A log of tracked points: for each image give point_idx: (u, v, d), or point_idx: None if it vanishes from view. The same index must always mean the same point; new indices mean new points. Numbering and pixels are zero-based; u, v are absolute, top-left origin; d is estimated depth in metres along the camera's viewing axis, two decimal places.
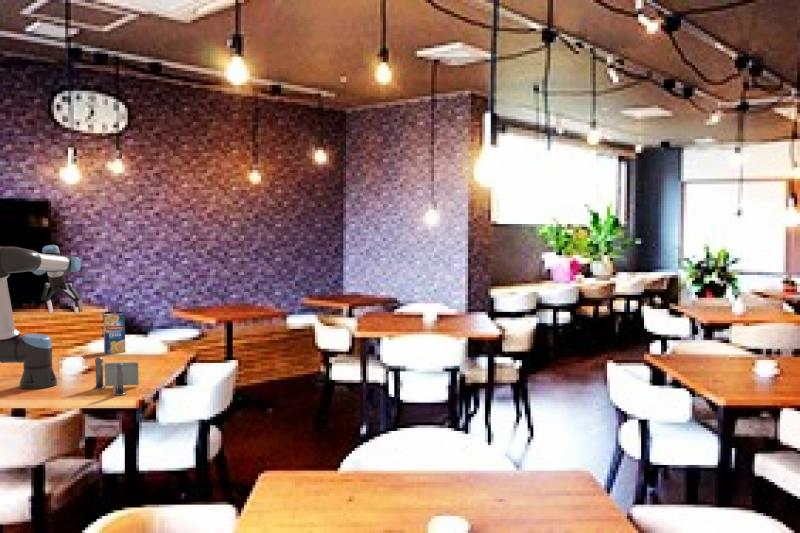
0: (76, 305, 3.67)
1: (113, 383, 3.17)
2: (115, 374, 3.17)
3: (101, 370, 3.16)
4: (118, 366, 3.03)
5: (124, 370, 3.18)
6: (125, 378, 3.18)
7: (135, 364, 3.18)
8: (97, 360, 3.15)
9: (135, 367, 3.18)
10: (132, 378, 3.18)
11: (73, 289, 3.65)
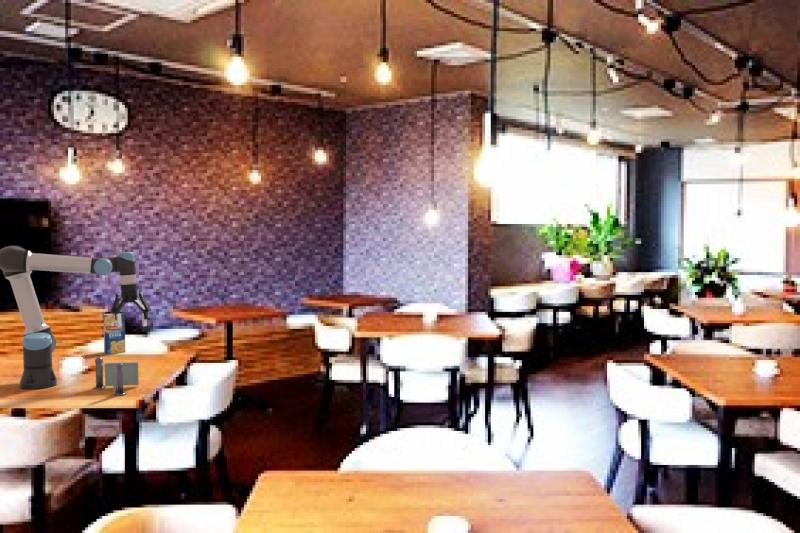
0: (145, 317, 3.45)
1: (113, 383, 3.17)
2: (115, 374, 3.17)
3: (101, 370, 3.16)
4: (118, 366, 3.03)
5: (124, 370, 3.18)
6: (125, 378, 3.18)
7: (135, 364, 3.18)
8: (97, 360, 3.15)
9: (135, 367, 3.18)
10: (132, 378, 3.18)
11: (144, 299, 3.45)
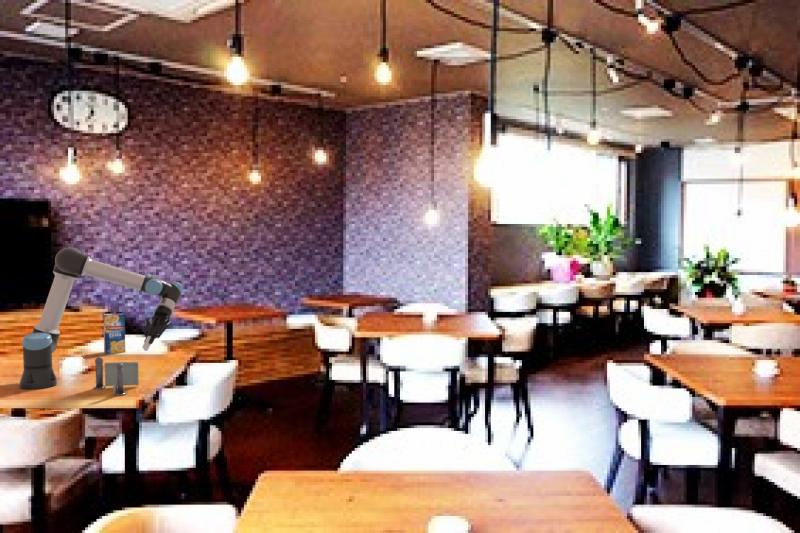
0: (150, 340, 3.33)
1: (113, 383, 3.17)
2: (115, 374, 3.17)
3: (101, 370, 3.16)
4: (118, 366, 3.03)
5: (124, 370, 3.18)
6: (125, 378, 3.18)
7: (135, 364, 3.18)
8: (97, 360, 3.15)
9: (135, 367, 3.18)
10: (132, 378, 3.18)
11: (165, 326, 3.38)
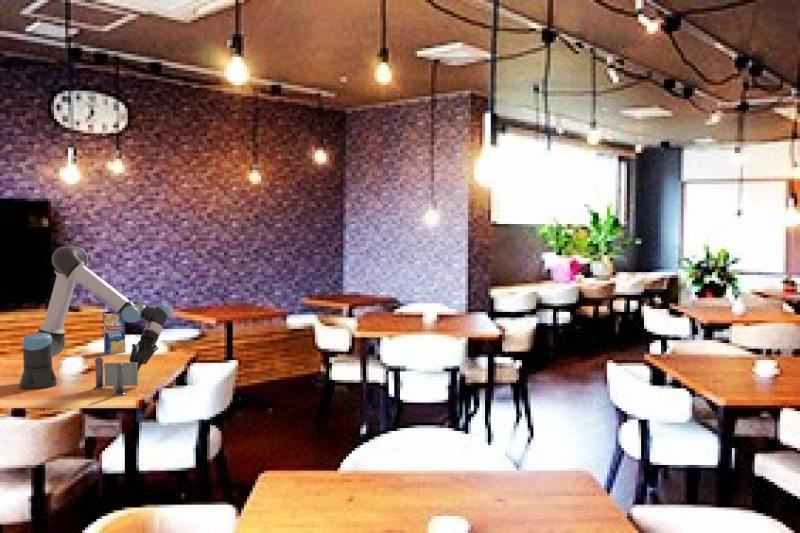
0: None
1: (113, 383, 3.17)
2: (114, 374, 3.16)
3: (101, 370, 3.16)
4: (118, 366, 3.03)
5: (123, 370, 3.17)
6: (124, 378, 3.17)
7: (134, 365, 3.16)
8: (97, 360, 3.15)
9: (134, 368, 3.17)
10: (131, 379, 3.17)
11: (151, 352, 3.26)
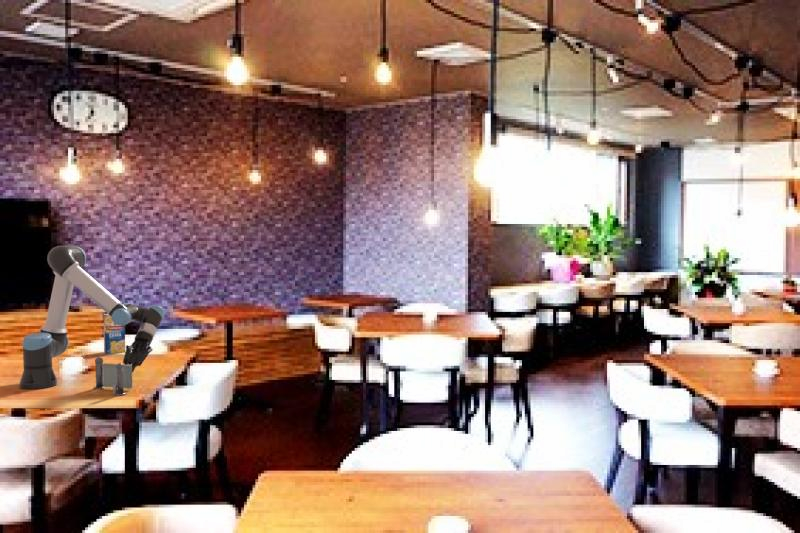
0: None
1: (110, 384, 3.14)
2: (111, 375, 3.14)
3: (101, 370, 3.16)
4: (118, 366, 3.03)
5: None
6: None
7: (127, 367, 3.11)
8: (97, 360, 3.15)
9: (127, 370, 3.11)
10: (125, 381, 3.12)
11: (146, 353, 3.22)
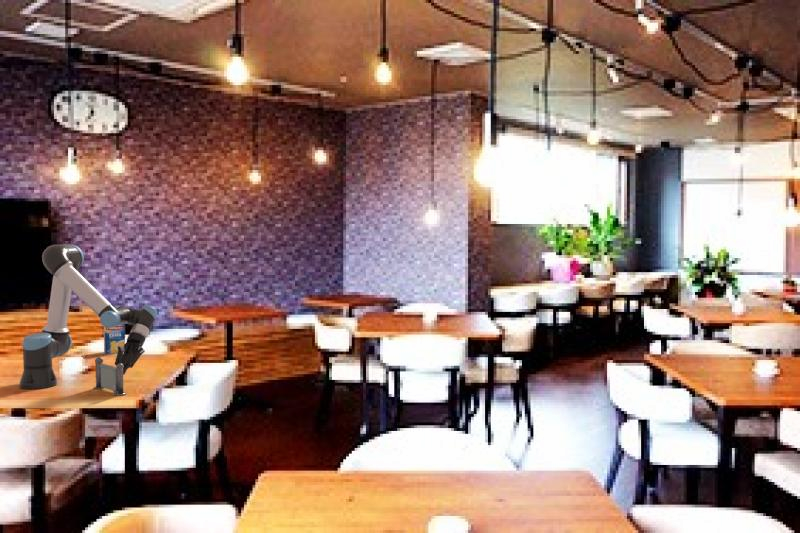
0: None
1: (104, 385, 3.12)
2: (105, 377, 3.11)
3: None
4: (118, 366, 3.03)
5: (109, 374, 3.09)
6: (110, 382, 3.09)
7: (114, 370, 3.05)
8: (97, 360, 3.15)
9: (114, 373, 3.05)
10: (113, 384, 3.07)
11: (138, 355, 3.18)
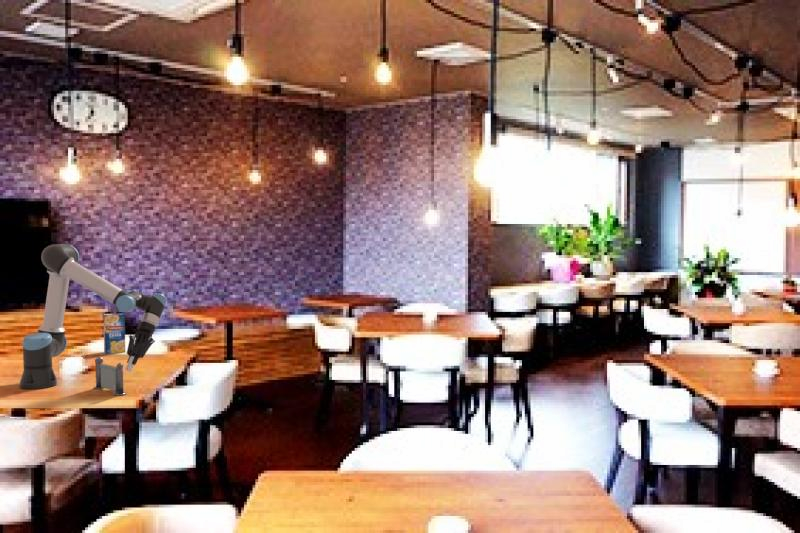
0: (133, 361, 3.23)
1: (104, 385, 3.12)
2: (105, 377, 3.11)
3: None
4: (118, 366, 3.03)
5: (109, 374, 3.09)
6: (110, 382, 3.09)
7: (114, 370, 3.05)
8: (97, 360, 3.15)
9: (114, 373, 3.05)
10: (113, 384, 3.07)
11: (148, 345, 3.27)
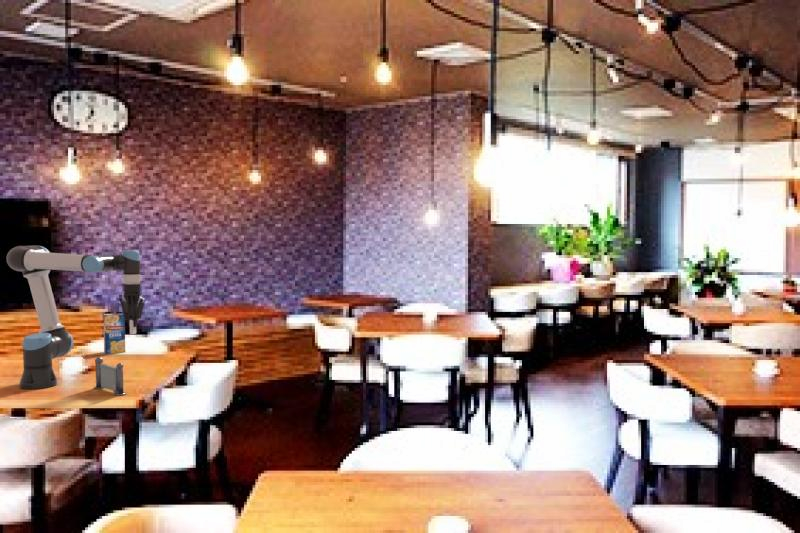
0: (134, 325, 3.29)
1: (104, 385, 3.12)
2: (105, 377, 3.11)
3: None
4: (118, 366, 3.03)
5: (109, 374, 3.09)
6: (110, 382, 3.09)
7: (114, 370, 3.05)
8: (97, 360, 3.15)
9: (114, 373, 3.05)
10: (113, 384, 3.07)
11: (141, 306, 3.28)
